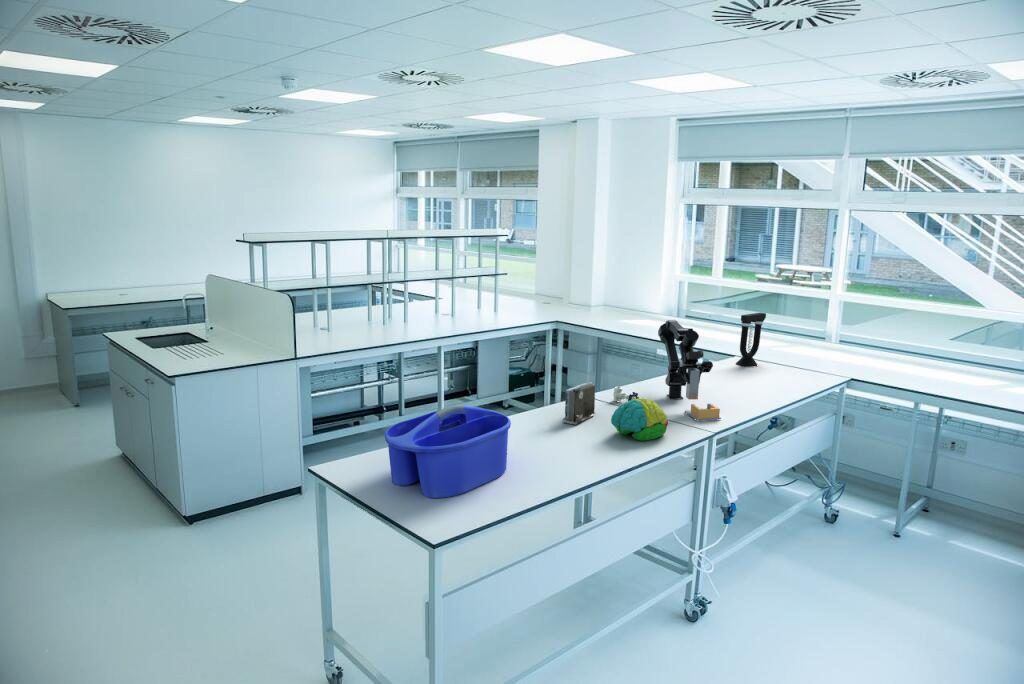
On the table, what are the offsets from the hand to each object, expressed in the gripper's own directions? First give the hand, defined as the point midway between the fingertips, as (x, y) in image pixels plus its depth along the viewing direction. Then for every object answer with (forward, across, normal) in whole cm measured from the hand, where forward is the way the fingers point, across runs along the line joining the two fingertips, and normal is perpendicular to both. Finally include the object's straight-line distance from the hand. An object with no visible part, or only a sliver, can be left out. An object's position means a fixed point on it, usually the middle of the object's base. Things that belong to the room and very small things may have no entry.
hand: (693, 383), depth 281 cm
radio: (+13, -51, +6) cm, 53 cm away
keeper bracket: (+13, +3, +6) cm, 14 cm away
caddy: (+54, -104, -37) cm, 123 cm away
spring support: (-55, +65, +77) cm, 115 cm away
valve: (-1, -26, +21) cm, 34 cm away
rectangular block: (+4, 0, +6) cm, 7 cm away
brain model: (+30, -31, -11) cm, 44 cm away
